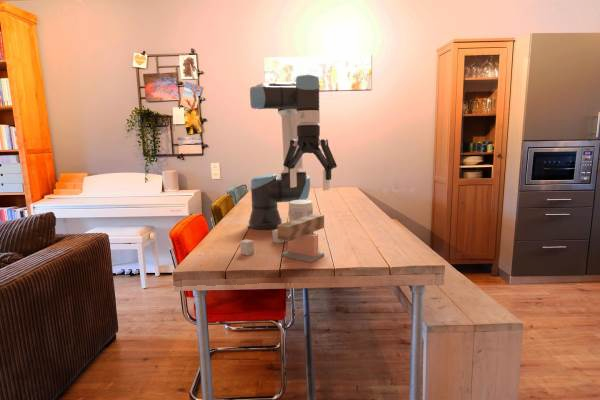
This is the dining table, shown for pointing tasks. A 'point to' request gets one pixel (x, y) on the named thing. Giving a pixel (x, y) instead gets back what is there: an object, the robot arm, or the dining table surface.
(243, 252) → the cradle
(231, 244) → the dining table surface
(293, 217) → the supplement tub
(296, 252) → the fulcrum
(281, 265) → the dining table surface
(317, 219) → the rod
